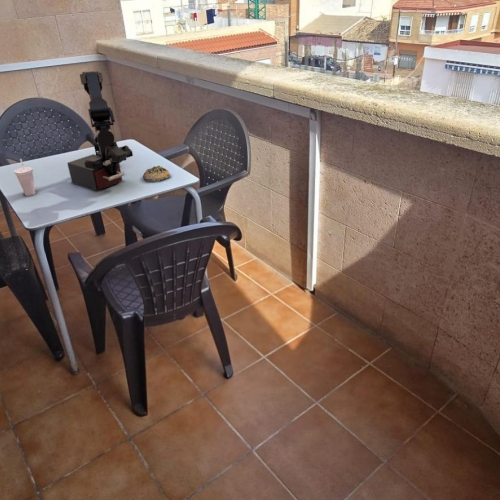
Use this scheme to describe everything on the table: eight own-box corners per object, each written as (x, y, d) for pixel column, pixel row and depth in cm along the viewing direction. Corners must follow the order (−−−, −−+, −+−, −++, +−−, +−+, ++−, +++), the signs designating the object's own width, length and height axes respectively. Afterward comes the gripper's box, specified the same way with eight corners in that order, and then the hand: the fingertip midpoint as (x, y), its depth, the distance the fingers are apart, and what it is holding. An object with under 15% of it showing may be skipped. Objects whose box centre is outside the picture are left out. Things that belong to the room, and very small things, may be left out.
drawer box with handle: (121, 181, 176) (118, 160, 171) (96, 191, 167) (92, 170, 163) (97, 173, 184) (93, 154, 179) (72, 183, 175) (67, 162, 170)
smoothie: (27, 198, 162) (16, 162, 155) (17, 195, 165) (6, 159, 158) (42, 192, 167) (32, 157, 160) (32, 189, 170) (22, 154, 163)
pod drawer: (130, 182, 172) (127, 166, 168) (107, 191, 164) (104, 175, 160) (99, 173, 182) (96, 157, 178) (76, 181, 174) (72, 165, 170)
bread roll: (154, 170, 185) (154, 159, 182) (175, 177, 181) (175, 166, 178) (137, 179, 177) (136, 168, 174) (158, 187, 173) (158, 176, 170)
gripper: (98, 148, 150) (108, 190, 157) (138, 135, 163) (145, 175, 170) (79, 145, 155) (89, 185, 163) (119, 132, 168) (126, 171, 176)
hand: (113, 179), depth 168 cm, fingers closed, pressing on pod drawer
